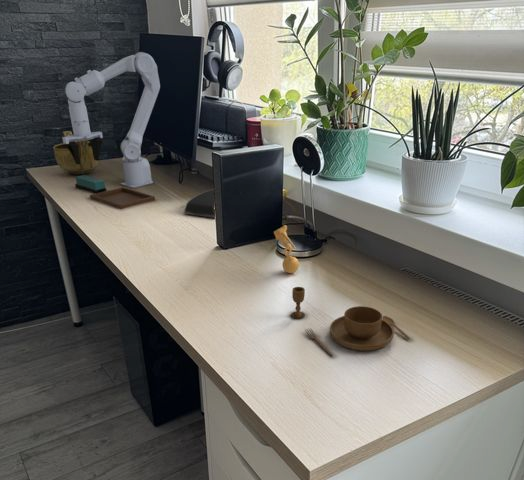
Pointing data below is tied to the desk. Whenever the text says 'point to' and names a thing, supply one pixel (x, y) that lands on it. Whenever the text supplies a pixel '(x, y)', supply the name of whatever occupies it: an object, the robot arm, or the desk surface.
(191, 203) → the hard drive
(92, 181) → the teal long block
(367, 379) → the desk surface
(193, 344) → the desk surface
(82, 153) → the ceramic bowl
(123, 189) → the tray
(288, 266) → the figurine
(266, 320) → the desk surface
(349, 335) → the place setting
